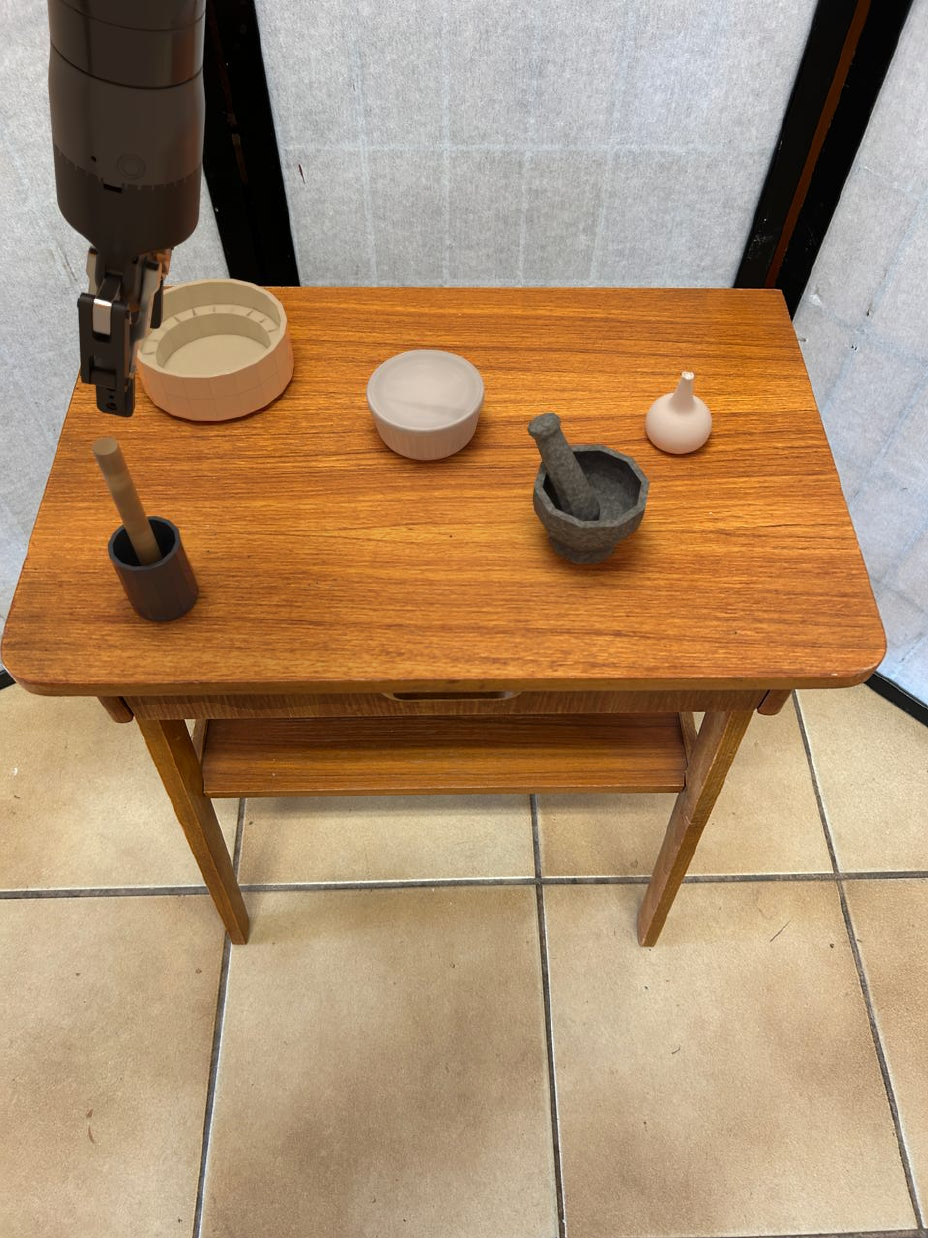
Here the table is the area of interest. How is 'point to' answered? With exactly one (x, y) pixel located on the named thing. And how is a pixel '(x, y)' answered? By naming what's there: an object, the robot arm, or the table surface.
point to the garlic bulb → (679, 419)
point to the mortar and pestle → (585, 494)
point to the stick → (126, 500)
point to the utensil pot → (156, 573)
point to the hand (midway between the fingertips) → (131, 365)
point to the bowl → (216, 350)
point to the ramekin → (425, 403)
